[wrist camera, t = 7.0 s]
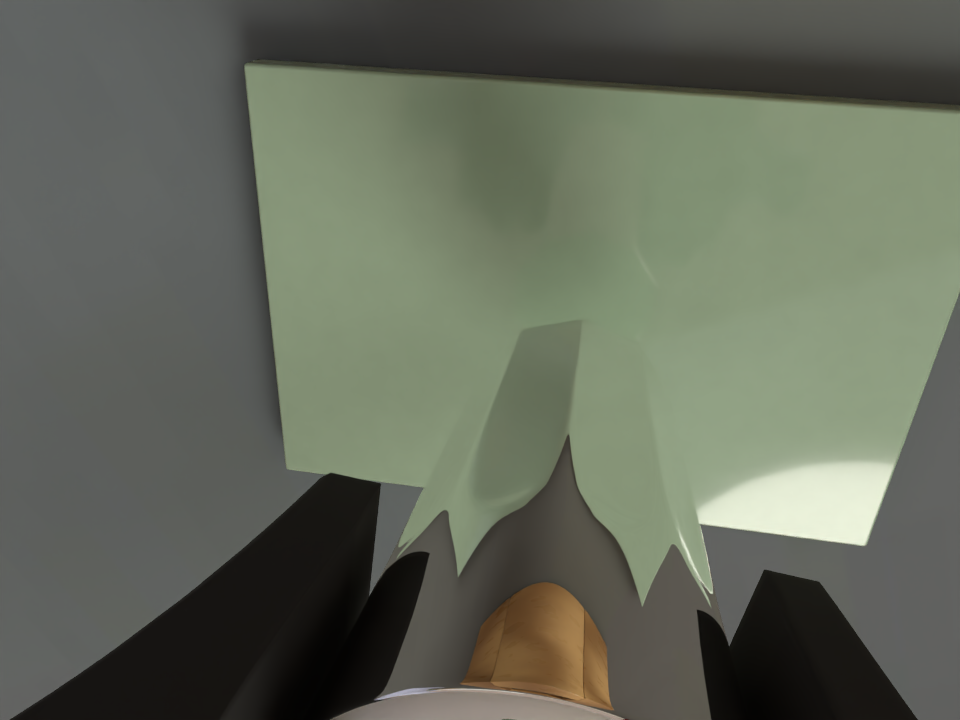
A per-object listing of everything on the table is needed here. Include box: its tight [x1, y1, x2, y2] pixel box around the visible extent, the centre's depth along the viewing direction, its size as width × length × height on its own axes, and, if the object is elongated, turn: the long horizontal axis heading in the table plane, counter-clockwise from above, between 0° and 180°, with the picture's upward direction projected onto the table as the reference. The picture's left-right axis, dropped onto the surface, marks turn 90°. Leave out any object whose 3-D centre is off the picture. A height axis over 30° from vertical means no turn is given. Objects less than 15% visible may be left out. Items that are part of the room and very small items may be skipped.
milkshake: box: [303, 319, 749, 720], centre depth 9 cm, size 4×5×10 cm
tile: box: [244, 59, 960, 546], centre depth 15 cm, size 13×9×1 cm
